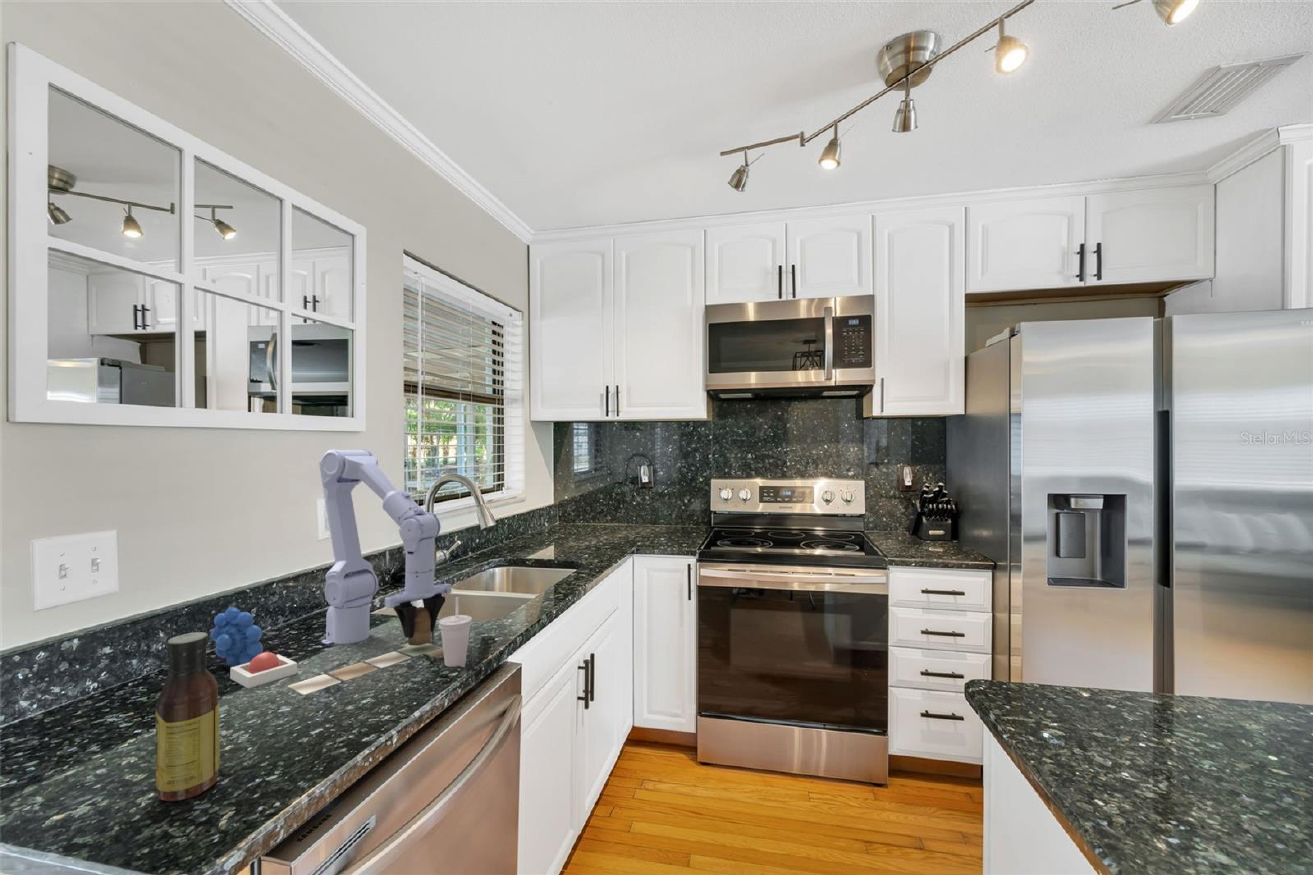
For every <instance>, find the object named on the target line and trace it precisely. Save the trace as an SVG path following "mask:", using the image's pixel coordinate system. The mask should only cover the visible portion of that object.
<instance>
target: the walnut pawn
mask: <svg viewBox="0 0 1313 875" xmlns="http://www.w3.org/2000/svg"><path fill="white" fill-rule="evenodd" d="M431 637H432V633H431V618H430V613H429V611H428V610H427V609H426V608H424V606H419V607H417V609H416V613H415V618H414V634H413V637H412V638H407V639H408V642H407V643H408V644H409V645H413V646H418V645H424V644H427V643H430V642H431V641H432V640H431V639H432V638H431Z"/></svg>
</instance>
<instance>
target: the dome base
mask: <svg viewBox="0 0 1313 875" xmlns="http://www.w3.org/2000/svg"><path fill="white" fill-rule="evenodd" d="M275 655H276V656H277V657H278V658H279V663H280V664H279V667H276V668H272V669H269V670H265V671H262V672H259V673H255V674H251V673H249V672H248V668H249V664H250V662H249V663H246V664H242V665H238V666H235V667H231V666H230V669H229V671H230V674H229V679H230V680H232V681H234V682H236V683H237V684H240V685H241V686H243V687H245V688H246V689H248V690H249V689H252V688H255V687H259V686H261V685H264V684H268V683H271V682H274V681H277V680H280V679H283V678H287V677H290V676H293V675H296V674H298V662H296V661H294V660H291V659H289V658H287V657H285V656H283V655H281V654H279V653H278V654H275Z"/></svg>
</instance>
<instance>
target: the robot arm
mask: <svg viewBox="0 0 1313 875" xmlns="http://www.w3.org/2000/svg"><path fill="white" fill-rule="evenodd" d="M378 464H379V460H378V458H377V457H376V456H375V455H374V454H373V453H372V451H370V450H369V449H328V450H327V451H326V452H325V453H324V454H323V456H322V457H321V459H320V461H319V463H318V465H319V470H320V477H321V478H320V479H321V483H322V487H323V488H322V489H323V490H322V491H323V495H324V503H325V508H326V515H327V521H328V527H329V533H330V538H331V545H332V550H333V551H332V552H333V557H334V565H333V566H332V567H331V568H330V569H329V571H327V572H326V574H325V576H324V577H325V587H324V597H325V599H326V601H327V603H328V604H329V605H330V606H329V608H328V609H327V612H326V616H325V617H326V618H325V619H326V620H325V621H326V623H325V625H326V626H325V629H326V630H325V631H326V632H325V639H323V640H321V643H322V644H324V645H329V644H332V643H334V644H337V645H349V644H355V643H358V642H362V641H365V640H367V639H369V638H370V619H371V618H370V616H371V615H370V614H371V613H370V612H371V611H370V610H371V609H370V608H371V607H370V606H371V605H370V604H371V601H373V596H374V595H375V594H376V593H377V592H378V590H379V580H378V576H377V575H376V573H375V571H374V568H373V564H372V563H370V562H369V561H368V560H366V559H364V558H363V555H362V550H361V544H360V539H359V532H358V526H357V519H356V514H355V509H354V502H353V501H354V500H353V497H352V496H353V495H352V492H353V490H354V488H355V487H356V486H359V484H361V482H363V483H364V484H365V485H366V486H367V487H368V488H369V489H371V491H373V492H374V493H375V494H376V495H377V496H378V498H380V499H381V500H383V502H382V509H383V511H385V512H386V513H387V515H388V516H389V517H390V518H391V519H392V520H393V521H394V523H395V524H396V525H398V527H399V529H398V532H399V533H398V534H399V537H400V538H401V540H402V542H403V544H402V545H403V549H404V552H405V570H404V571H405V573H404V575H405V576H404V577H405V579H404V581H405V582H404V583H405V584H404V587H405V588H404V590H403V591H401V592H399V593H395V594H393V595H390V596H387V597H384V607H385V608H387V609H393V610H394V612H395V613H396V615H397V617H398V619H399V621H400V625H401V628H402V632H403V636H404V638H407V639H408V638H412V637H413V634H414V618H415V613H416V609H417V608H418V607H417V606H415V605H413V602H417V601H421V600H422V603H423V607H424V608H426V609H427V610H428V611H429V613H430V618H431V632H433V631H435V626H436V623H437V620H438V616H439V614H440V612H441V609H442V608H443V606H444V604H445V603H446V596H444V595H447V594H451V593H452V584H450V583H448V582H447V583H442V584H436V585H435V539H436V537H438V536H439V534H440V532H441V528H442V526H441V521H440V520H439V518H438V517H437V514H436V513H434V512H427V511H426V510H424V509H423V508H422V506H419V504H418V503H417V502H416V501H415V500H414V499H413V498H412V497H411V496H412V494H411V493H410V492H409V491H405V490H397V488H396V487H395V485H394V484H393V483H392V482H391V480H389V479H388V477H387V476H386V474H385V473H384V471H383V470H382V469H381V468H380V466H379V465H378ZM348 573H349V574H348ZM350 573H352V574H350Z"/></svg>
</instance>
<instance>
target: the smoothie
mask: <svg viewBox="0 0 1313 875" xmlns="http://www.w3.org/2000/svg"><path fill="white" fill-rule="evenodd" d="M472 624H473V618H472V616H470V615H468V614H466V615H465V614H459V596H456V597H455V615H449V616H445V617H442V618H441V619H439V621H438V628H440V635H441V642H442V648H443V653H444V657H443V659H444V660H443V661H444V665H445V666H446V667H449V668H451V667H462V668H466V664H467V663H466V662H467V654H468V646H469V638H470V633H471V632H470V631H471V625H472Z"/></svg>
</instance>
